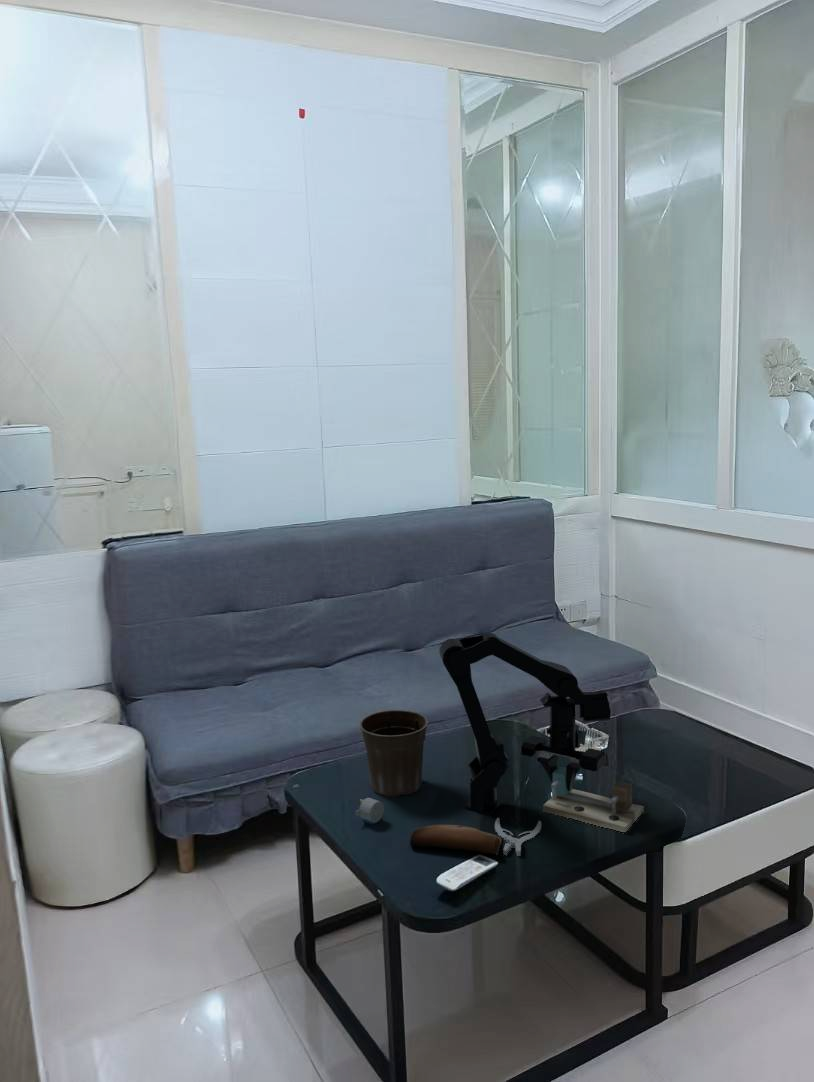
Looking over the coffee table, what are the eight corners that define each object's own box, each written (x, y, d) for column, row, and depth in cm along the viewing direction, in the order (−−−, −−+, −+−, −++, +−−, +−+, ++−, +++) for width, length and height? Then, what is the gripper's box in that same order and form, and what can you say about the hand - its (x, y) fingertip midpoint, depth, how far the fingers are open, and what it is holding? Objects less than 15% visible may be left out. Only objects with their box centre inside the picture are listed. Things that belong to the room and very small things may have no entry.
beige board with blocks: (625, 833, 180) (625, 802, 179) (542, 811, 191) (542, 781, 189) (643, 812, 189) (644, 782, 187) (564, 792, 199) (564, 764, 198)
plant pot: (415, 806, 195) (413, 738, 193) (350, 796, 201) (348, 730, 199) (439, 776, 210) (437, 713, 208) (378, 768, 216) (376, 707, 214)
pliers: (541, 817, 185) (536, 852, 171) (541, 824, 186) (536, 860, 171) (496, 813, 188) (487, 848, 173) (496, 820, 188) (487, 855, 173)
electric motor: (372, 811, 193) (371, 790, 192) (387, 817, 190) (387, 796, 189) (350, 823, 188) (349, 801, 187) (366, 829, 185) (365, 808, 184)
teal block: (559, 801, 190) (559, 780, 189) (546, 798, 192) (546, 777, 191) (572, 789, 196) (572, 768, 195) (560, 786, 197) (560, 766, 197)
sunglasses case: (503, 835, 179) (500, 817, 175) (498, 867, 174) (495, 849, 170) (419, 827, 184) (414, 809, 180) (413, 857, 179) (407, 840, 175)
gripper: (615, 719, 194) (615, 784, 196) (540, 704, 204) (541, 767, 207) (596, 735, 185) (596, 803, 187) (518, 719, 195) (519, 784, 198)
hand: (562, 788), depth 195 cm, fingers closed on teal block, 3 cm apart
